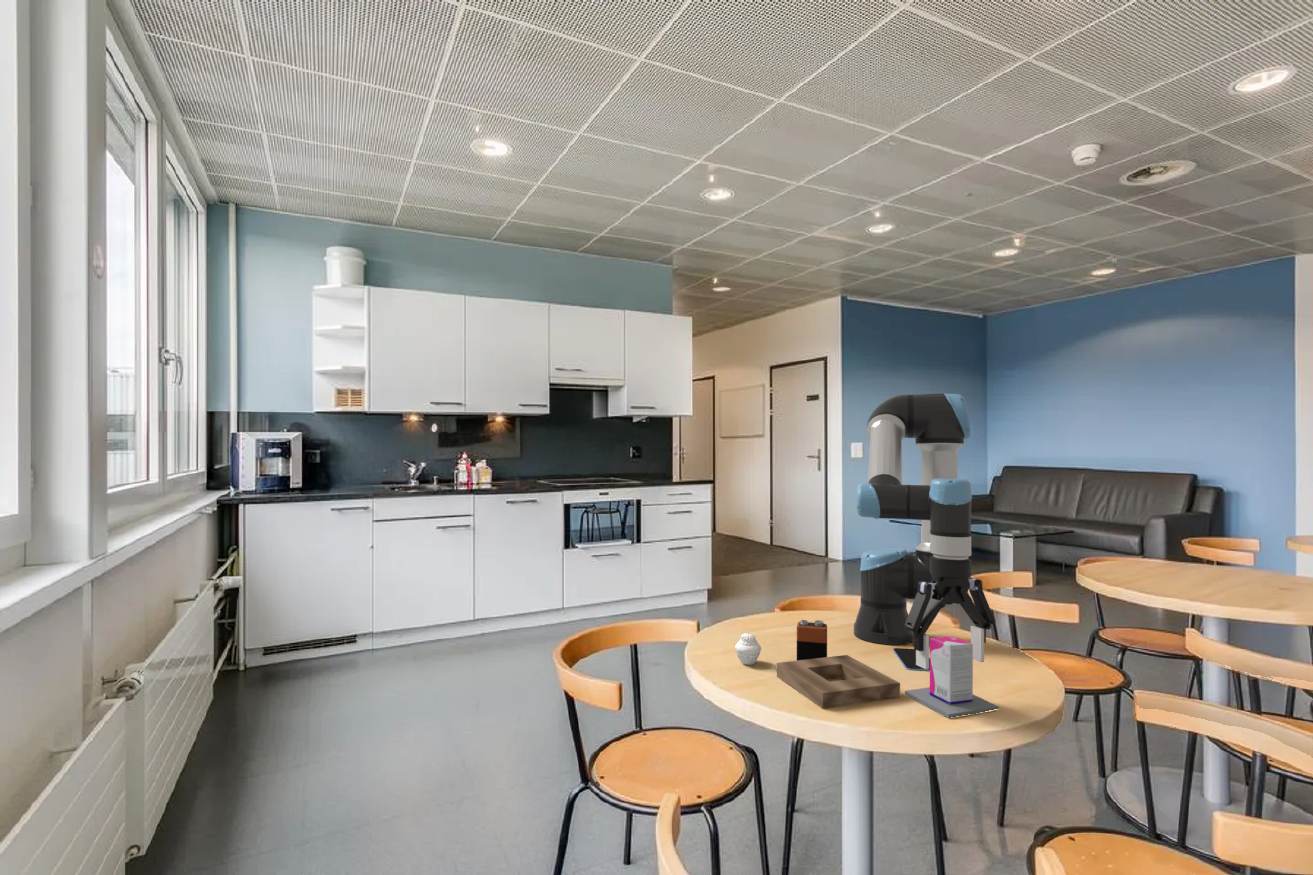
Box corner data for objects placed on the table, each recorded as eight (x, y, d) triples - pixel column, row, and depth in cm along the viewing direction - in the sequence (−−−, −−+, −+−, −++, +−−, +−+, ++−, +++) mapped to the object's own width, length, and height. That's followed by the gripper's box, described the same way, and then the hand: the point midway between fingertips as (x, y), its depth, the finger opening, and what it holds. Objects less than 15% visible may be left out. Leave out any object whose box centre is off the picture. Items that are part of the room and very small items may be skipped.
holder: (846, 668, 146) (846, 654, 146) (899, 697, 129) (899, 682, 129) (776, 676, 141) (776, 662, 141) (822, 708, 124) (822, 693, 124)
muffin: (730, 660, 151) (730, 630, 151) (753, 657, 153) (753, 627, 154) (742, 668, 146) (742, 637, 146) (766, 665, 148) (766, 635, 148)
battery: (826, 668, 146) (826, 624, 146) (796, 665, 148) (796, 622, 148) (827, 662, 150) (827, 619, 150) (797, 659, 152) (797, 617, 152)
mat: (951, 687, 135) (951, 684, 135) (998, 710, 123) (998, 706, 123) (904, 694, 131) (904, 690, 131) (948, 718, 119) (948, 714, 119)
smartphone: (906, 668, 145) (891, 647, 160) (906, 672, 145) (891, 650, 160) (940, 669, 144) (922, 648, 159) (940, 673, 144) (922, 652, 159)
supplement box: (974, 701, 125) (974, 643, 125) (949, 705, 123) (949, 646, 124) (951, 691, 131) (951, 634, 131) (928, 694, 129) (928, 637, 129)
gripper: (984, 550, 135) (984, 651, 135) (885, 556, 127) (885, 663, 127) (1014, 556, 128) (1014, 662, 127) (911, 562, 120) (911, 676, 120)
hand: (950, 663), depth 127 cm, fingers open, 13 cm apart
